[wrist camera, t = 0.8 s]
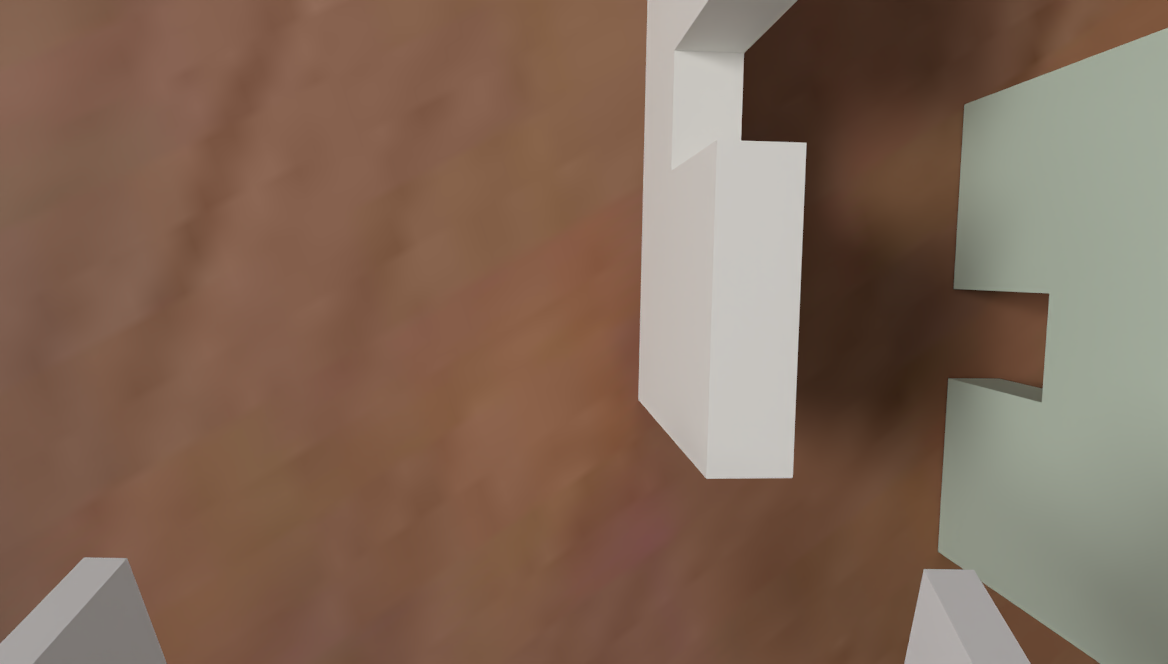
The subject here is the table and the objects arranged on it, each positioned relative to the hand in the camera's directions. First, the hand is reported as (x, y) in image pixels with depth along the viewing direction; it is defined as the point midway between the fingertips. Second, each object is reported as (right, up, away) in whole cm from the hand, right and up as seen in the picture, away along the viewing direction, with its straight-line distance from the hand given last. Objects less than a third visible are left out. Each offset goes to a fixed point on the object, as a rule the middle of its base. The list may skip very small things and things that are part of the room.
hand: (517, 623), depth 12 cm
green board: (+19, +5, +20) cm, 28 cm away
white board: (+5, +13, +19) cm, 23 cm away
